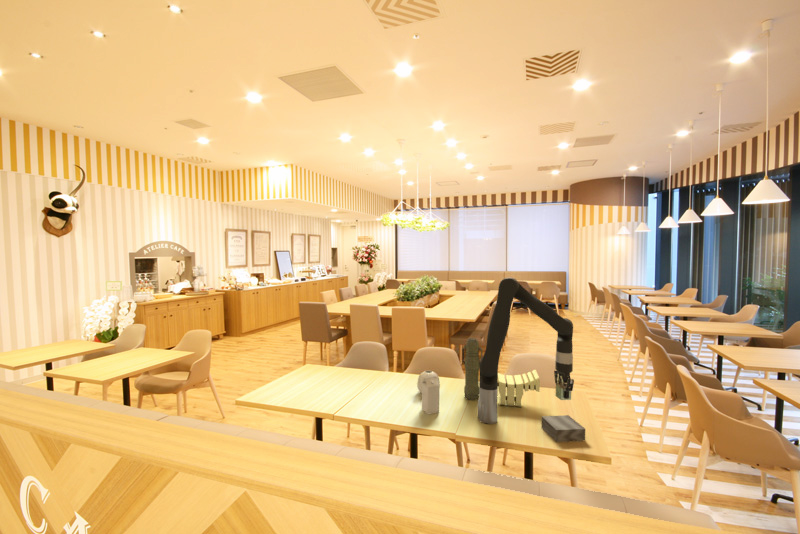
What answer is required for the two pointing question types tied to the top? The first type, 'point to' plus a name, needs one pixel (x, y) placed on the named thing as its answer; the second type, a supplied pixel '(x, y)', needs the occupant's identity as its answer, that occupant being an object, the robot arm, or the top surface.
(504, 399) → the slatted curved stool
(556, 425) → the charcoal box
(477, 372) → the dark green pillar
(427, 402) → the milk carton
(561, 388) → the tea tin
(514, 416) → the top surface
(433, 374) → the vase
